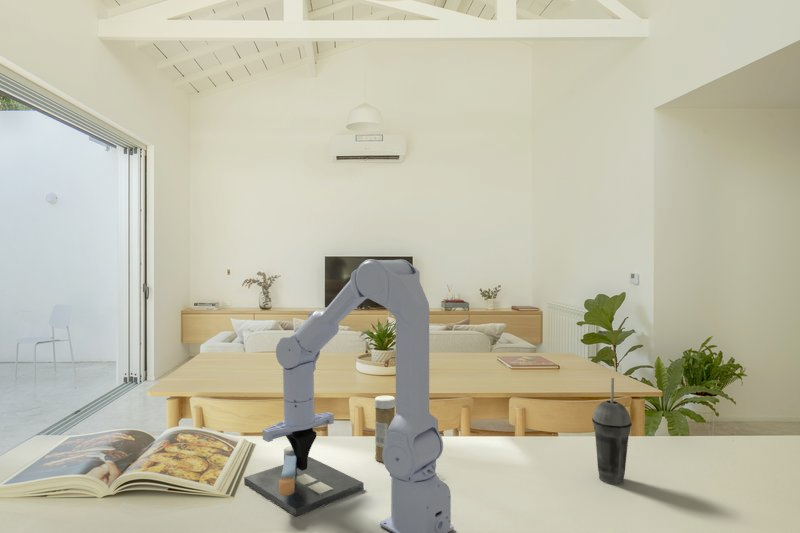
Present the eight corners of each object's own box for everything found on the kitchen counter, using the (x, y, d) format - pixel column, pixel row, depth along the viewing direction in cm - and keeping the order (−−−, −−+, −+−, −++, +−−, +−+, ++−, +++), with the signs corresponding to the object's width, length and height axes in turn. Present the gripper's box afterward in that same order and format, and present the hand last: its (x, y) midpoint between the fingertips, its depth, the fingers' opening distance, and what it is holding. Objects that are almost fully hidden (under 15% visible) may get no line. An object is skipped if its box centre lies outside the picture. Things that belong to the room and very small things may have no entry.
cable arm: (295, 495, 87) (295, 480, 87) (277, 496, 87) (277, 481, 87) (299, 458, 103) (299, 445, 103) (284, 459, 103) (284, 446, 103)
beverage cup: (589, 482, 101) (589, 380, 101) (594, 469, 107) (594, 373, 107) (629, 490, 97) (630, 385, 97) (632, 476, 104) (633, 377, 104)
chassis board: (363, 489, 98) (363, 471, 98) (296, 516, 87) (295, 496, 87) (308, 462, 111) (308, 446, 111) (244, 483, 100) (244, 465, 100)
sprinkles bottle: (399, 460, 112) (399, 398, 112) (381, 464, 109) (381, 401, 109) (388, 453, 116) (388, 393, 116) (370, 457, 113) (370, 396, 113)
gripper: (319, 387, 106) (320, 452, 107) (254, 402, 97) (255, 473, 97) (339, 393, 101) (340, 462, 101) (272, 409, 91) (274, 485, 92)
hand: (300, 468), depth 99 cm, fingers closed, pressing on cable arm
